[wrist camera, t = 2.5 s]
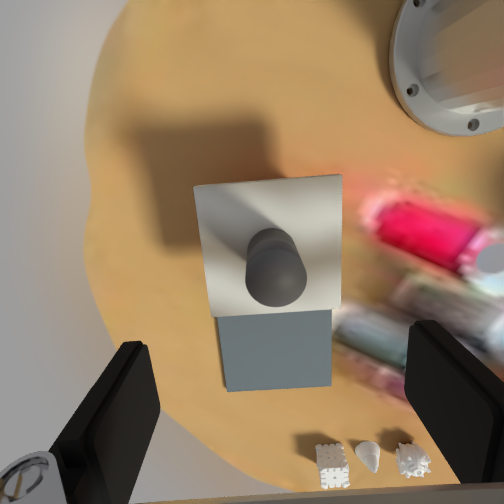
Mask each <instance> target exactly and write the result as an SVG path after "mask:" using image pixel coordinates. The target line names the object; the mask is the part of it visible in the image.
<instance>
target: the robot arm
mask: <svg viewBox="0 0 504 504" xmlns="http://www.w3.org/2000/svg"><path fill="white" fill-rule="evenodd" d="M413 2H415V3H416V7H415V6H414V3H413ZM389 68H390V76H391V81H392V85H393V88H394V91H395V94H396V96H397V98H398V100H399V102H400V104H401V105H402V107H403V109H404V110H405V111H406V112H407V114H408V115H409V116H410V117H411V118H412V119H413V120H414V121H415V122H417V123H418V124H419V125H421V126H422V127H424V128H425V129H427V130H430V131H432V132H435V133H437V134H441V135H446V136H452V137H459V136H474V135H481V134H485V133H489V132H492V131H495V130H498V129H500V128H502V127H504V0H404V1H403V3H402V5H401V7H400V10H399V13H398V15H397V18H396V20H395V23H394V27H393V31H392V36H391V40H390V50H389ZM407 89H409V90H410V94H409V95H408V94H407ZM468 125H469V126H468ZM404 390H405V395H406V397H407V399H408V401H409V402H410V404H411V406H412V407H413V409H414V410H415V412H416V413H417V415H418V417H419V418H420V420H421V421H422V423H423V424H424V426H425V428H426V429H427V431H428V432H429V434H430V435H431V437H432V439H433V440H434V442H435V443H436V445H437V446H438V448H439V450H440V451H441V453H442V454H443V456H444V457H445V459H446V461H447V462H448V464H449V465H450V467H451V468H452V470H453V472H454V473H455V475H456V476H457V478H458V479H459V481H460V483H461V484H442V485H423V486H405V487H386V488H367V489H350V490H333V491H316V492H299V493H283V494H267V495H250V496H235V497H221V498H220V497H219V498H204V499H189V500H174V501H161V502H149V503H138V504H504V382H503V381H502V380H500V379H499V378H498V377H497V376H496V375H495V374H494V373H493V372H492V371H491V370H489V369H488V368H487V367H486V366H485V365H484V364H483V363H482V362H481V361H479V360H478V359H477V358H476V357H475V356H474V355H473V354H472V353H471V352H470V351H468V350H467V349H466V348H465V347H464V346H463V345H462V344H461V343H460V342H458V341H457V340H456V339H455V338H454V337H453V336H452V335H451V334H450V333H449V332H447V331H446V330H445V329H444V328H443V327H442V326H441V325H440V324H439V323H437V322H436V321H435V320H422V321H416V322H415V323H414V325H412V326H410V329H409V338H408V350H407V361H406V373H405V384H404ZM159 414H160V401H159V397H158V392H157V387H156V383H155V378H154V373H153V369H152V364H151V360H150V355H149V350H148V346H147V345H146V344H145V345H143V343H142V342H141V341H129V342H123V344H122V345H121V346H120V348H119V349H118V351H117V352H116V354H115V355H114V357H113V358H112V360H111V361H110V362H109V364H108V366H107V367H106V369H105V370H104V371H103V373H102V374H101V376H100V377H99V379H98V380H97V382H96V383H95V384H94V386H93V387H92V388H91V389H90V391H89V392H88V394H87V395H86V397H85V398H84V400H83V401H82V402H81V404H80V405H79V407H78V408H77V410H76V411H75V413H74V414H73V416H72V417H71V419H70V420H69V422H68V423H67V424H66V426H65V427H64V429H63V430H62V432H61V433H60V435H59V436H58V438H57V439H56V441H55V442H54V443H53V445H52V446H51V448H50V449H49V451H48V452H47V451H38V452H34V453H30V454H28V455H25V456H23V457H21V458H19V459H18V460H16V461H15V462H13V463H11V464H10V465H8V466H7V467H6V468H5V469H4V470H2V471H1V472H0V504H128V502H129V500H130V496H131V494H132V491H133V488H134V486H135V483H136V480H137V477H138V474H139V471H140V468H141V466H142V463H143V460H144V457H145V454H146V451H147V449H148V446H149V443H150V440H151V437H152V434H153V432H154V429H155V426H156V423H157V420H158V417H159Z"/></svg>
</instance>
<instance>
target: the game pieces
mask: <svg viewBox="0 0 504 504" xmlns="http://www.w3.org/2000/svg"><path fill="white" fill-rule="evenodd" d="M411 443H412V444H409V443H407V444H405V445H404V444H401V442H399V443H398V444H399V447H400V448H399V450H398V448H397V449H396V454H397V458H395V459H396V463H397V466H398V468H399V472H400V474H404V473H405V477H406V478H409V477H410V476H411V475H413V476H415V477H418V476H421V477H422V478H423V477H424V475H423V473H424V472H425V471H426V472H429V473H430V472H431V470H430V469H429V467H428V463H430V462H432V461H431V460H430V458H429V456H428V455H427V453H426V452H425V451H424V449H423V448H422V447H421V448H420V446H419V445H418V444H416V443H414V442H413V441H412V442H411ZM315 448H316V454H317V460H316V462H317V467H318V471H319V476H320V485H321V487H323V488H324V489H327V488H328V485H329V488H334V485H335V486H336V487H341V484H342V487H344V488H346V487H347V486H349V478H348V472H349V467H348V462H347V461H346V458H345V455H344V450H343V445H342V444H341V443H336V444H335V445H334V444H329V446H328V444H324V445H323V446H322V445H321V444H319V445H316V446H315ZM422 450H423V451H422ZM355 454H356V455H357V457H358V458H359V459H360V460H361V461H362V462H363V463H364V464H365V465H366V466H367V468H368V469H369V470H370V471H372V472H374V473H375V474H376V472H377V470H378V465H379V463H378V460H379V455H380V447H379V445H378V444H377V443H375V442H372V441H366V442H362V443H360V444H359V445H358V446H357V447H356V449H355Z"/></svg>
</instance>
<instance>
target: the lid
mask: <svg viewBox="0 0 504 504" xmlns="http://www.w3.org/2000/svg"><path fill="white" fill-rule="evenodd" d="M193 190H194V197H195V204H196V211H197V219H198V226H199V233H200V240H201V247H202V254H203V262H204V269H205V276H206V283H207V290H208V297H209V305H210V312H211V317H223V316H238V315H254V314H269V313H284V312H299V311H314V310H329V309H341V247H342V175H341V174H330V175H318V176H306V177H293V178H281V179H269V180H257V181H244V182H232V183H220V184H208V185H196V186H194V187H193Z"/></svg>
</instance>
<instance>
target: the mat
mask: <svg viewBox="0 0 504 504" xmlns="http://www.w3.org/2000/svg"><path fill="white" fill-rule="evenodd" d="M217 320H218V328H219V335H220V343H221V350H222V358H223V365H224V373H225V380H226V388H227V392H237V391H254V390H271V389H289V388H306V387H324V386H331V320H332V309H329V310H314V311H299V312H284V313H269V314H254V315H238V316H223V317H217Z"/></svg>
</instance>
